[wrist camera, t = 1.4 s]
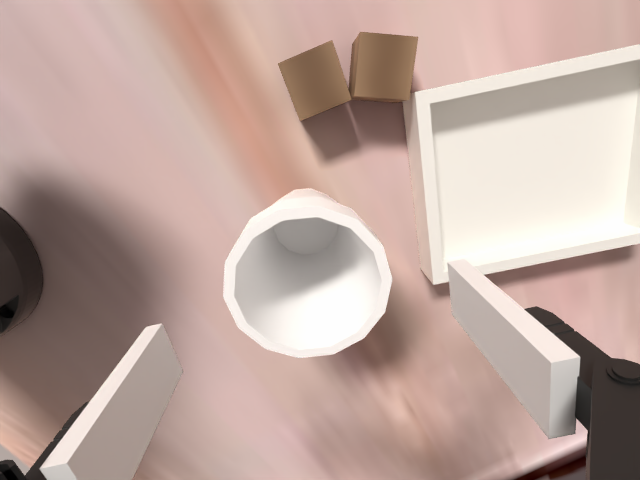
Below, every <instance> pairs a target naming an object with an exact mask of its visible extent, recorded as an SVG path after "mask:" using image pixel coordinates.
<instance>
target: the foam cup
mask: <svg viewBox="0 0 640 480" xmlns="http://www.w3.org/2000/svg"><path fill="white" fill-rule="evenodd" d="M391 284H392V276H391V272H390V269H389V265H388V262H387V258H386V254H385V251H384V247H383V245H382V243H381V242H380V240H379V239H378V237H377V236H376V234H375V233H374V231H373V230H372V229H371V228H370V227H369V226H368V225H367V224H366V223H365V222H364V221H363V220H362V219H361V218H360V217H359V216H358V215H357V214H356V213H355V212H354V211H353V210H352V209H351V208H349V207H347V206H344V205H341V204H339V203H338V202H336V201H335V200H334V199H332V198H331V197H329V196H328V195H327V194H325V193H322V192H319V191H316V190H314V189H311V188H308V189H298V190H293V191H292V192H290V193H289V194H287V195H285V196H284V197H282V198H280V199H279V200H278V201H277V202H275V203H274V204H273V205H272V206H270V207H269V208H267V209H265V210H264V211H262V212H260V213H259V214H257V215H255V216H254V217H252V218H251V219H250V220H249V222H248V224H247V225H246V227H245V229H244V230H243V232H242V234H241V235H240V237H239V238H238V240H237V242H236V243H235V245H234V247H233V248H232V250H231V252H230V254H229V256H228V257H227V259H226V261H225V270H224V292H223V298H224V300H225V302H226V304H227V306H228V308H229V310H230V312H231V314H232V316H233V318H234V320H235V322H236V324H237V326H238V328H239V329H240V330H242V331H243V332H244V333H246V334H247V335H248V336H249V337H251V338H252V339H253V340H254V341H256V342H257V343H258V344H259V345H261V346H262V347H263V348H265V349H267V350H271V351H274V352H278V353H282V354H285V355H289V356H293V357H296V358H305V357H314V356H323V355H333V354H335V353H337V352H339V351H341V350H343V349H345V348H347V347H348V346H350V345H352V344H354V343H356V342H358V341H360V340H362V339H364V338H365V336H366V335H367V334H368V333H369V331H370V330H371V329H372V328H373V327H374V325H375V324H376V323H377V322H378V320H379V319H380V318H381V317H382V315H383V314H384V313H385V311H386V306H387V302H388V297H389V293H390V288H391Z"/></svg>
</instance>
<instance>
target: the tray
mask: <svg viewBox="0 0 640 480" xmlns="http://www.w3.org/2000/svg"><path fill="white" fill-rule="evenodd" d="M402 102H403V111H404V121H405V130H406V139H407V148H408V158H409V167H410V176H411V186H412V195H413V204H414V214H415V223H416V232H417V241H418V251H419V260H420V269H421V270H422V271H423V272H424V274H425V275H426V276H427V277H428V279H429V280H430V281H431V282H432V284H433V285H435V284H440V283H445V282H449V276H448V265H447V262H450V261H455V260H460V259H465V260H467V261H468V262H469V263H470V264H471V265H472V266H474V267H475V268H476V269H477V270H478V271H479V272H481V273H482V274H483V275H485V274H490V273H495V272H500V271H505V270H510V269H515V268H520V267H525V266H530V265H535V264H540V263H545V262H550V261H555V260H560V259H565V258H570V257H575V256H580V255H585V254H590V253H595V252H600V251H605V250H610V249H615V248H620V247H625V246H630V245H635V244H640V44H638V45H634V46H629V47H624V48H619V49H615V50H610V51H605V52H601V53H596V54H591V55H587V56H582V57H577V58H573V59H568V60H563V61H558V62H554V63H549V64H544V65H540V66H535V67H530V68H526V69H521V70H516V71H511V72H507V73H502V74H497V75H493V76H488V77H483V78H479V79H474V80H469V81H464V82H460V83H455V84H450V85H446V86H441V87H436V88H432V89H427V90H422V91H417V92H413V93H410V98H409V100H407V101H402Z"/></svg>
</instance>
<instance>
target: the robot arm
mask: <svg viewBox="0 0 640 480" xmlns="http://www.w3.org/2000/svg"><path fill="white" fill-rule="evenodd" d="M447 265H448V276H449V287H450V299H451V310H452V315H453V316H454V318H455V319H456V320H457V322H458V323H459V324H460V325H461V327H462V328H463V329H464V331H465V332H466V333H467V334H468V336H469V337H470V338H471V340H472V341H473V342H474V343H475V345H476V346H477V347H478V349H479V350H480V351H481V352H482V354H483V355H484V356H485V358H486V359H487V360H488V361H489V363H490V364H491V365H492V367H493V368H494V369H495V370H496V372H497V373H498V374H499V376H500V377H501V378H502V379H503V381H504V382H505V383H506V385H507V386H508V387H509V388H510V390H511V391H512V392H513V394H514V395H515V396H516V397H517V399H518V400H519V401H520V403H521V404H522V405H523V406H524V408H525V409H526V410H527V412H528V413H529V414H530V415H531V417H532V418H533V419H534V421H535V422H536V423H537V424H538V426H539V427H540V428H541V430H542V431H543V432H544V433H545V435H546V436H547V437H548V439H552V438H557V437H562V436H567V435H572V434H575V430H576V418H577V419H578V420H579V421H580V422H581V424H582V425H583V426H584V427H585V428H586V429H587V430H588V435H587V447H586V480H640V364H638V363H635V362H631V361H628V360H625V359H616V358H611V357H609V356H608V355H607V354H605V353H604V352H603V351H601V350H600V349H599V348H598V347H596V346H595V345H594V344H592V343H591V342H590V341H588V340H587V339H586V338H584V337H583V336H582V335H581V334H579V333H578V332H577V331H574V329H573V328H571V327H570V326H569V325H568V324H565V323H564V321H562V320H561V319H560V318H558V317H557V316H556V315H554V314H553V313H551V312H549V311H547V310H544V309H542V308H539V307H537V306H536V307H532V308H527V309H523V308H522V307H521V306H520V305H518V304H517V303H516V302H515V301H514V300H513V299H511V298H510V297H509V296H508V295H507V294H505V293H504V292H503V291H502V290H501V289H500V288H498V287H497V286H496V285H495V284H494V283H492V282H491V281H490V280H489V279H488V278H487V277H485V276H484V275H483V274H482V273H481V272H479V271H478V270H477V269H476V268H475V267H474V266H472V265H471V264H470V263H469V262H468V261H467V260H465V259H460V260H455V261H450V262H447ZM41 291H42V270H41V265H40V262H39V259H38V256H37V253H36V251H35V249H34V247H33V245H32V243H31V242H30V240H29V238H28V237H27V235H26V234H25V233H24V231H23V230H22V229H21V228H20V226H19V225H18V224H17V223H16V222H15V221H14V220H13V219H12V218H11V217H10V216H9V215H8V214H7V213H5V212H4V211H3V210H2V209H1V208H0V336H2V335H3V334H5V333H6V332H8V331H9V330H11V329H12V328H14V327H15V326H16V325H18V324H19V323H21V322H22V321H23V320H25V319H26V318H27V317H28V316H29V315H30V314H31V313H32V311H33V310H34V308H35V307H36V305H37V303H38V301H39V298H40V295H41ZM182 373H183V369H182V367H181V365H180V363H179V360H178V358H177V356H176V353H175V351H174V349H173V347H172V344H171V342H170V340H169V337H168V335H167V333H166V330H165V328H164V326H163V324H162V323H161V324H157V325H152V326H147V327H146V328H145V329H144V330H143V332H142V333H141V334H140V336H139V337H138V338H137V340H136V341H135V342H134V344H133V345H132V346H131V347H130V349H129V350H128V351H127V353H126V354H125V355H124V357H123V358H122V359H121V361H120V362H119V363H118V365H117V366H116V367H115V369H114V370H113V371H112V373H111V374H110V375H109V377H108V378H107V379H106V381H105V382H104V383H103V385H102V386H101V387H100V389H99V390H98V391H97V393H96V394H95V395H94V397H93V398H92V399H91V401H90V402H86V403H85V404H84V405H83V406H82V407H81V408H79V409H78V410H77V411H76V412H75V413H74V414H73V415H72V416H71V417H70V418H69V420H68V421H67V422H66V423H65V425H64V426H63V427H62V430H61V431H59V432H58V434H57V435H56V436H55V438H54V441H53V442H51V443H50V444H49V445H48V447H47V448H46V449H45V450H44V452H43V453H42V454H41V456H40V457H39V458H38V459H37V461H36V462H35V463H34V465H33V466H32V467H31V468H30V470H29V471H28V472H27V474H26V475H25V476H24V474H23V473H22V472H21V470H20V469H19V468H18V466H17V465H16V463H15V462H14V461H13V460H4V461H0V480H132V479H133V477H134V475H135V473H136V471H137V468H138V466H139V464H140V462H141V460H142V458H143V456H144V454H145V451H146V449H147V447H148V445H149V443H150V441H151V439H152V437H153V434H154V432H155V430H156V428H157V426H158V424H159V422H160V420H161V417H162V415H163V413H164V411H165V409H166V407H167V405H168V403H169V400H170V398H171V396H172V394H173V392H174V390H175V388H176V386H177V383H178V381H179V379H180V377H181V375H182Z"/></svg>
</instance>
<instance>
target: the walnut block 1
mask: <svg viewBox="0 0 640 480" xmlns="http://www.w3.org/2000/svg"><path fill="white" fill-rule="evenodd" d="M278 65H279V68H280V71H281V73H282V76H283V78H284V81H285V84H286V86H287V89H288V91H289V94H290V96H291V99H292V102H293V104H294V107H295V109H296V112H297V115H298V117H299V120H300V121H302V120H304V119H307V118H309V117H312V116H314V115H316V114H319V113H321V112H324V111H326V110H328V109H331V108H333V107H336V106H338V105H340V104H343V103H345V102H348V101H350V100H352V99H351V96H350V93H349V90H348V87H347V84H346V81H345V78H344V75H343V72H342V68H341V65H340V62H339V59H338V56H337V53H336V50H335V47H334V44H333V41H332V40H331V41H329V42H327V43H324V44H322V45H320V46H317V47H315V48H313V49H310V50H308V51H306V52H303V53H301V54H299V55H297V56H294V57H292V58H290V59H287V60H285V61H283V62H280V63H278Z"/></svg>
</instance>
